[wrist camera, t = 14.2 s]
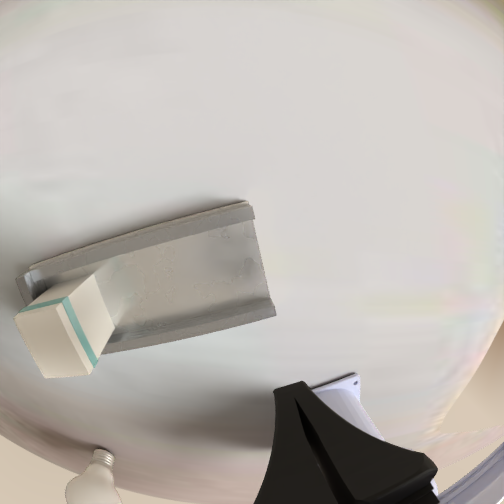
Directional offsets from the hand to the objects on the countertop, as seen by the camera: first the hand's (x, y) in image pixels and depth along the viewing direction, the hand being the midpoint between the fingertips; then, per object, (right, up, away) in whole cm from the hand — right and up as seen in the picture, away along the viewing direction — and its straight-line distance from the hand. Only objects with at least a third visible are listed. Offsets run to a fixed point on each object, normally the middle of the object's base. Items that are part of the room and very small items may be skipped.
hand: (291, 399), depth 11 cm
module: (-15, +2, +7) cm, 16 cm away
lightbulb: (-19, -17, +13) cm, 29 cm away
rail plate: (-10, +4, +8) cm, 14 cm away
